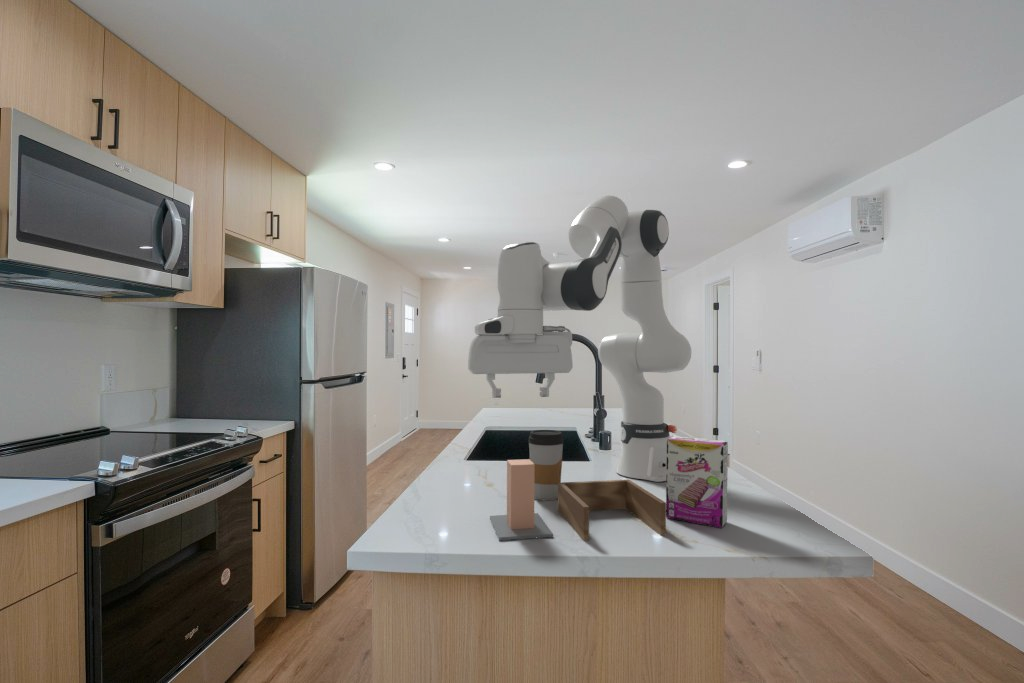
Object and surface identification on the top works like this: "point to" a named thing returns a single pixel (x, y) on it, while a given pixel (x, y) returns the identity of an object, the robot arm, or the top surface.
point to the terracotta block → (520, 493)
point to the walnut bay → (608, 503)
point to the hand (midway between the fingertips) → (520, 397)
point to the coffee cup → (546, 462)
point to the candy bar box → (697, 480)
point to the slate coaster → (507, 533)
